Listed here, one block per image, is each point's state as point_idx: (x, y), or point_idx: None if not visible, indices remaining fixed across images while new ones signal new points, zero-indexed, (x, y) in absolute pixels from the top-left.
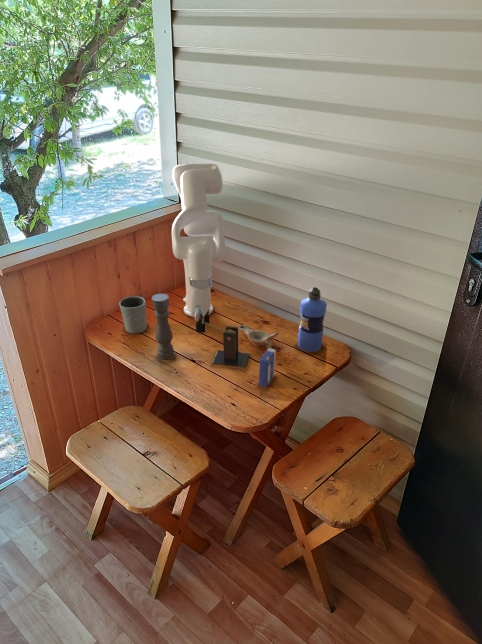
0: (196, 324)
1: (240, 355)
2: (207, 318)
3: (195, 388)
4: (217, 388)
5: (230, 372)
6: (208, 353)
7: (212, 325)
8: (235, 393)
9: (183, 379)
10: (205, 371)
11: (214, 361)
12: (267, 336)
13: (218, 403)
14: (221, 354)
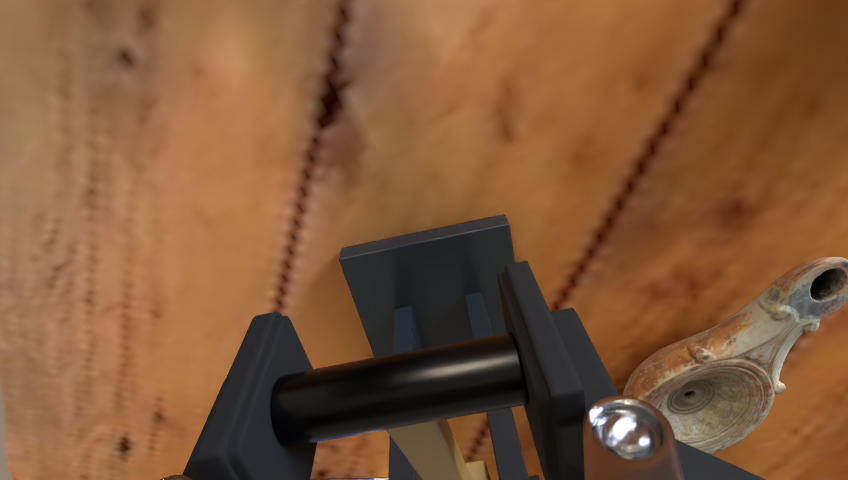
0: (215, 424)
1: None
2: (533, 433)
3: (82, 261)
4: (172, 354)
5: (338, 352)
6: (471, 158)
7: (440, 466)
8: (197, 427)
9: (95, 150)
10: (266, 236)
11: (365, 263)
12: (699, 446)
13: (77, 400)
14: (463, 266)
